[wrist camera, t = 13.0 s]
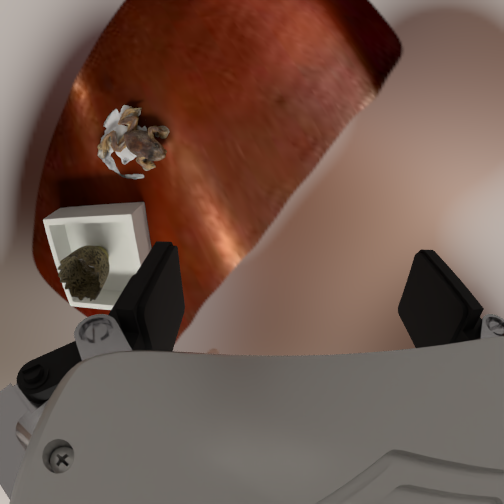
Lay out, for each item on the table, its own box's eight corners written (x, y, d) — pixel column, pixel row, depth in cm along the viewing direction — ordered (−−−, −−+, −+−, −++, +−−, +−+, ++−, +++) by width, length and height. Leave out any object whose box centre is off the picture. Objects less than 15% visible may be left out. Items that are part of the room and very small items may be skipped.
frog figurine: (191, 112, 35) (184, 113, 32) (159, 191, 40) (150, 199, 37) (118, 87, 33) (106, 86, 29) (93, 164, 38) (80, 170, 35)
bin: (60, 207, 41) (42, 219, 36) (144, 201, 40) (131, 214, 36) (82, 289, 48) (70, 305, 44) (160, 294, 48) (151, 313, 43)
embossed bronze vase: (86, 271, 45) (64, 298, 38) (78, 232, 42) (52, 255, 34) (124, 275, 45) (104, 305, 38) (117, 234, 42) (93, 259, 35)
